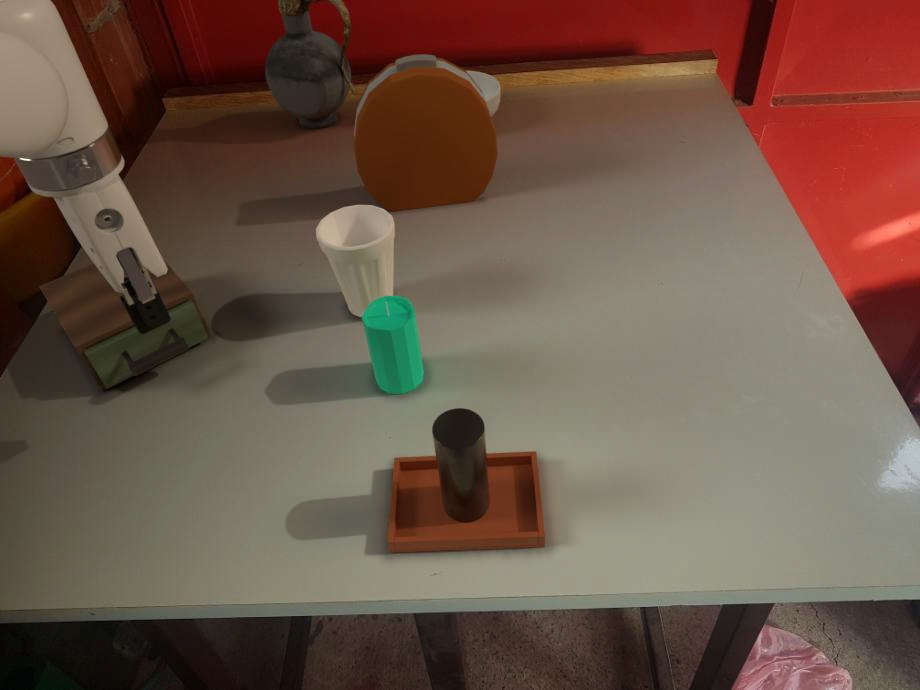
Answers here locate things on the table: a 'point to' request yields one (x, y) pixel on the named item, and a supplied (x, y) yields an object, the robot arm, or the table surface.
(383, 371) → the candle
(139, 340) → the drawer
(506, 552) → the table surface
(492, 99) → the cereal bowl
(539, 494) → the tray
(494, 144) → the alarm clock
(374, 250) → the cup
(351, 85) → the pitcher
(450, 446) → the cylinder
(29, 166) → the robot arm
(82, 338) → the cabinet
